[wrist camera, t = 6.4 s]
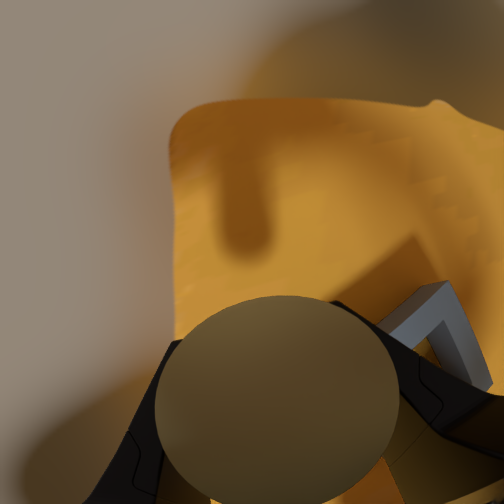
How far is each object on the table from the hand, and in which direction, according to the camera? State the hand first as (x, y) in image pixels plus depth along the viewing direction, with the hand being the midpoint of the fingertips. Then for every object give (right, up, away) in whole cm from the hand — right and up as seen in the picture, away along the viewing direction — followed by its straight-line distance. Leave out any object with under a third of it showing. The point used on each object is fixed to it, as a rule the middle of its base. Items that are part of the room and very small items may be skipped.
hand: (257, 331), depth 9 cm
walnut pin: (0, -3, +6) cm, 7 cm away
